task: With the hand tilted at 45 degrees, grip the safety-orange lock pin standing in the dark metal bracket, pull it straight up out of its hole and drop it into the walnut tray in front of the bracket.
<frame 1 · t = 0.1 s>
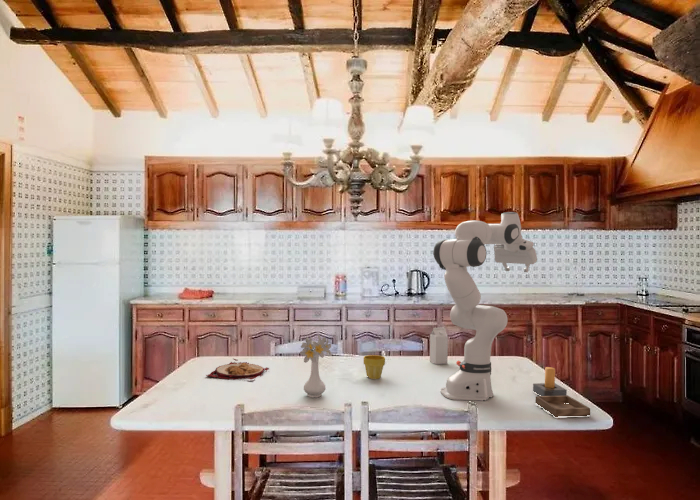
hand: (516, 271, 252), 52 cm above the table, tool tilted 20°, fingers open, 8 cm apart
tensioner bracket: (549, 395, 225), on the table
plant pot: (374, 377, 251), on the table
walnut tray: (561, 410, 206), on the table
flower vase: (315, 396, 220), on the table
plate with food: (241, 374, 257), on the table
milk carton: (438, 362, 282), on the table
lock pin: (549, 382, 225), in the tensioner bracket
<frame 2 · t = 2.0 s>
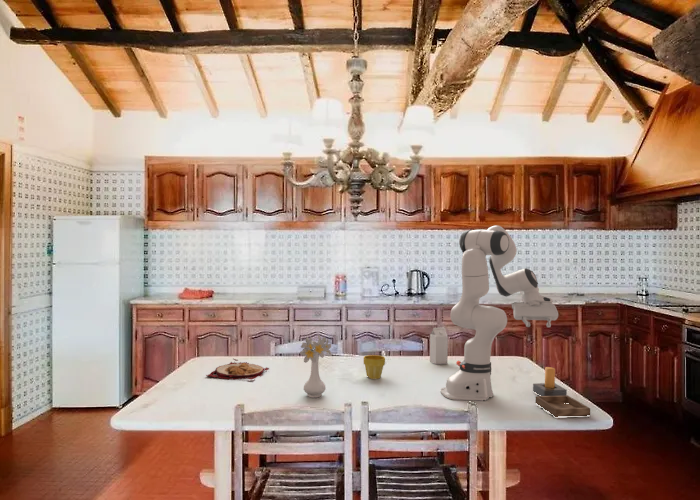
hand: (538, 326, 241), 27 cm above the table, tool tilted 45°, fingers open, 8 cm apart
nothing on the table moved.
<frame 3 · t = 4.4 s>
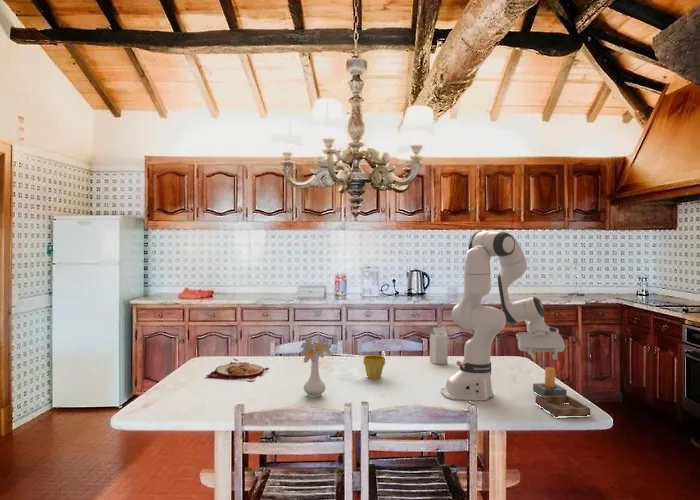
hand: (544, 358, 232), 15 cm above the table, tool tilted 45°, fingers open, 8 cm apart
nothing on the table moved.
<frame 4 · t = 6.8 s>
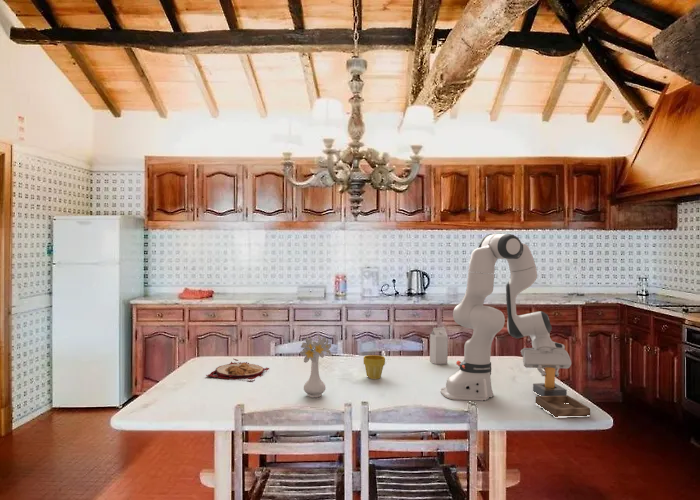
hand: (550, 375, 224), 9 cm above the table, tool tilted 45°, fingers closed on lock pin, 4 cm apart
lock pin: (549, 382, 225), in the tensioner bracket, touching gripper
everything else where it was.
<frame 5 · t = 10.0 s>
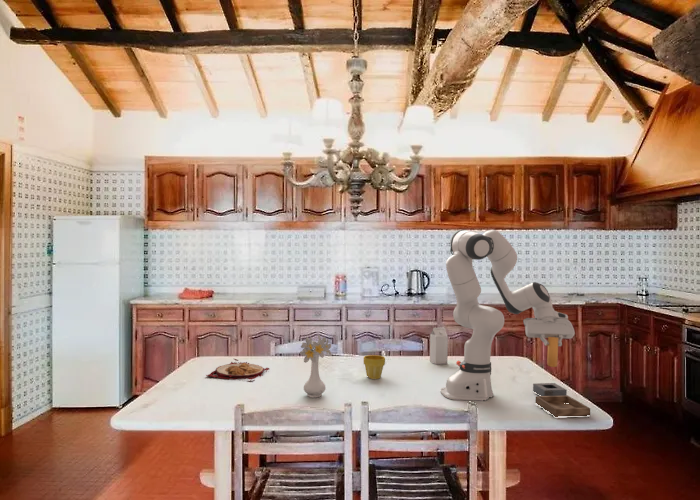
hand: (553, 345, 220), 23 cm above the table, tool tilted 45°, fingers closed on lock pin, 4 cm apart
lock pin: (552, 351, 220), point 20 cm above the table, touching gripper
everything else where it was.
when the fingers open (11 cm above the table, at t = 13.5 s): lock pin drops 1 cm, resting on walnut tray.
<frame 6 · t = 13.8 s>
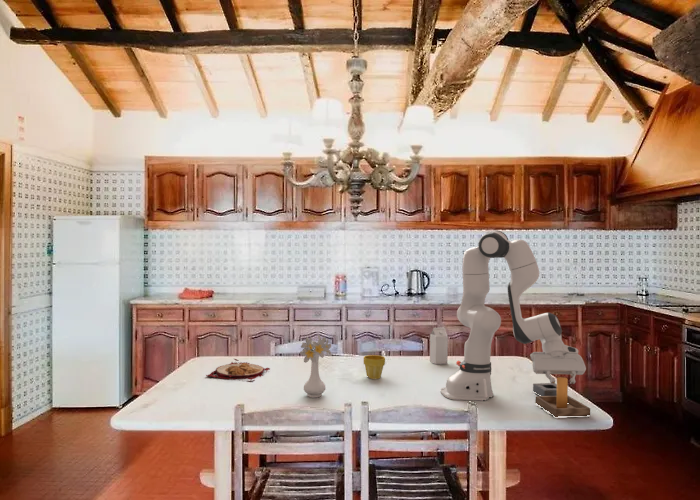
hand: (563, 382, 205), 11 cm above the table, tool tilted 45°, fingers open, 6 cm apart
lock pin: (562, 393, 205), in the walnut tray, point 7 cm above the table
everything else where it was.
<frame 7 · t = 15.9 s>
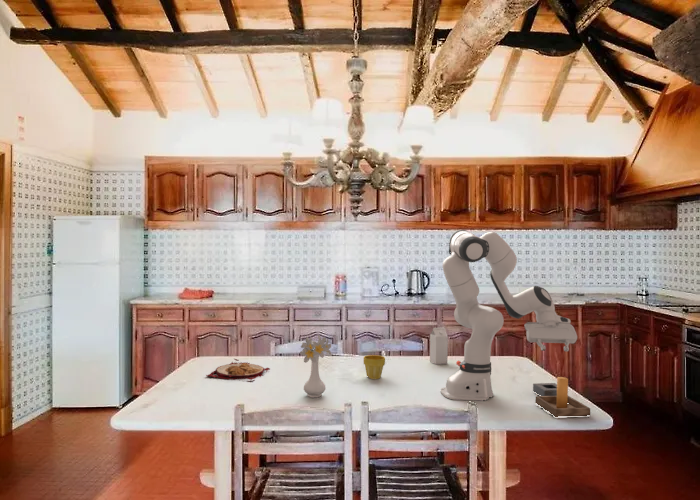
hand: (555, 350, 215), 22 cm above the table, tool tilted 45°, fingers open, 8 cm apart
nothing on the table moved.
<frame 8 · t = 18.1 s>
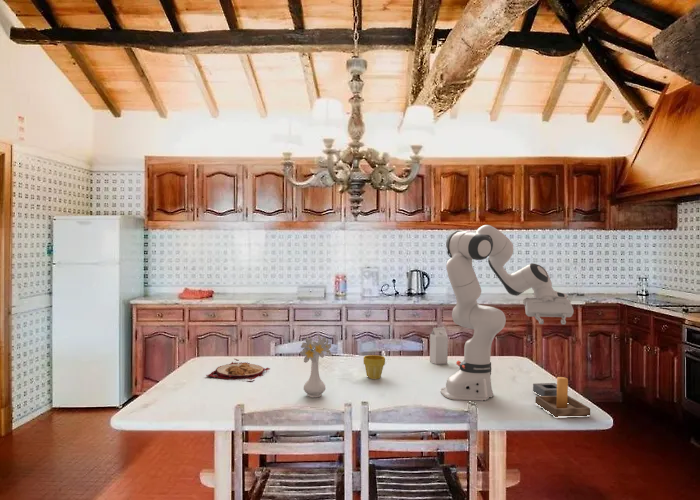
hand: (552, 323, 225), 31 cm above the table, tool tilted 45°, fingers open, 8 cm apart
nothing on the table moved.
at the end: lock pin inside the target area on the walnut tray (0.1 cm from its centre), point 7.0 cm above the walnut tray's base; lock pin moved 19.7 cm from its start; the gripper is holding nothing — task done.
